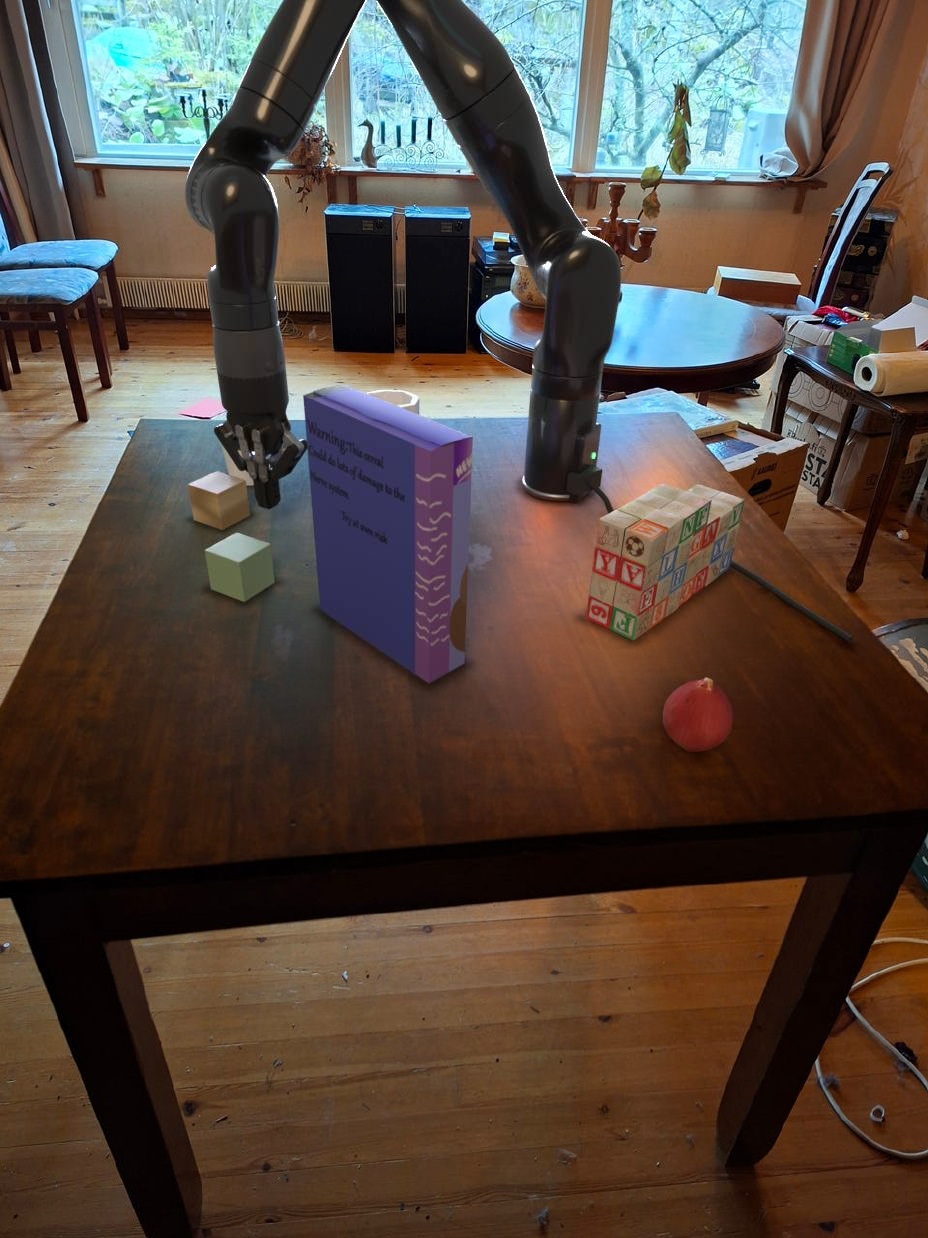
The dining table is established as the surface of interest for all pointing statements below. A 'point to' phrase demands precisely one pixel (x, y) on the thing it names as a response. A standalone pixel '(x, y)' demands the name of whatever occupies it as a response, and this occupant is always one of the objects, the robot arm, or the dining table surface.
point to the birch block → (219, 500)
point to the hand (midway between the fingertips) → (268, 505)
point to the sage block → (240, 566)
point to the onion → (698, 716)
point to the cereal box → (391, 526)
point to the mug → (398, 399)
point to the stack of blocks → (660, 555)
